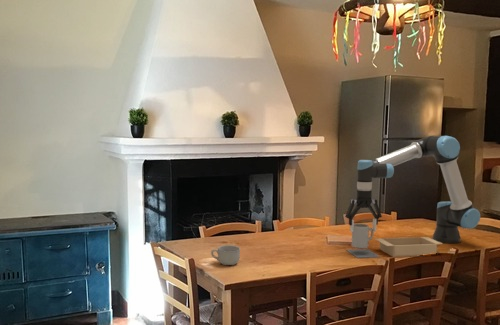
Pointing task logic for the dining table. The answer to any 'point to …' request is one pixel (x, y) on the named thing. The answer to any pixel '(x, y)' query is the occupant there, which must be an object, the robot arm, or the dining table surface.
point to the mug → (361, 236)
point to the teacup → (227, 254)
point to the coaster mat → (362, 253)
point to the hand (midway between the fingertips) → (363, 231)
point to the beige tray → (408, 246)
